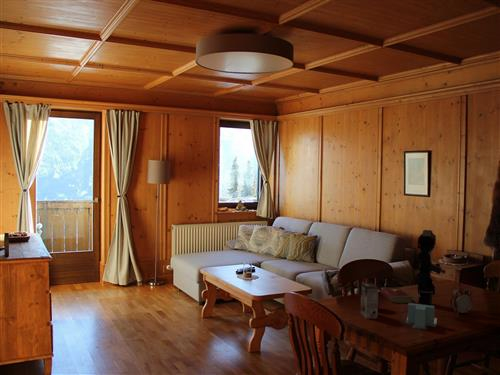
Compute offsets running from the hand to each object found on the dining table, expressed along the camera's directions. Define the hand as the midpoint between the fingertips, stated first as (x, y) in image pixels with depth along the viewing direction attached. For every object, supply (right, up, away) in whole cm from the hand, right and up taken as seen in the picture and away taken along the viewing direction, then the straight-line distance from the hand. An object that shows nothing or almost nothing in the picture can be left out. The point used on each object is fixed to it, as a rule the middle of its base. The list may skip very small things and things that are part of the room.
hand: (424, 287), depth 250 cm
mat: (-8, -14, -18) cm, 24 cm away
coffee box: (-32, -13, -8) cm, 35 cm away
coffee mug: (-27, -13, +7) cm, 30 cm away
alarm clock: (+19, -14, -1) cm, 23 cm away
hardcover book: (-7, -13, +28) cm, 31 cm away
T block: (-11, -13, -23) cm, 29 cm away
